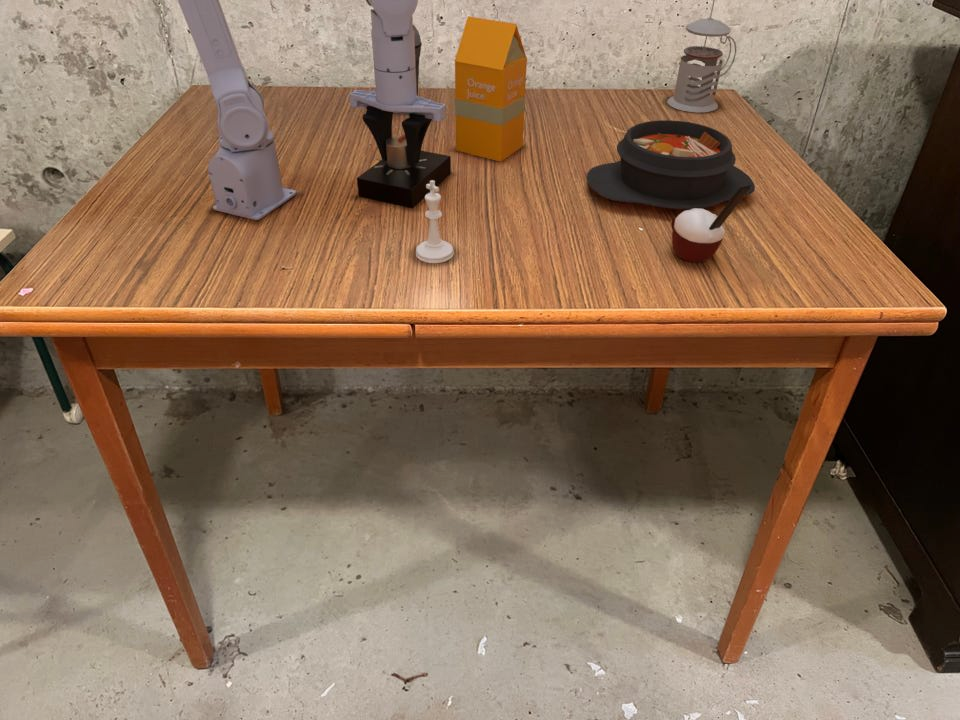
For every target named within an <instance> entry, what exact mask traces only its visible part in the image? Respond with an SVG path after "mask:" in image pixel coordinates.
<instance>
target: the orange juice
mask: <svg viewBox="0 0 960 720" xmlns="http://www.w3.org/2000/svg"><path fill="white" fill-rule="evenodd" d="M517 25H518V24H517V23H514V22H507V21H501V20H494V19H489V18H488V19H487V18H482V17H475V16H468V15H467V17H466V21H465V24H464V28H463V31H462V35H461V38H460V41H459V44H458V48H457V51H456V55H455V58H454V116H455V151H457V152H460V153H465V154H468V155H472V156H476V157H480V158H484V159H488V160H493V161H496V162H500V163H501V162H502V161H504V160H505V159H507V158H509V157H510V156H511V155H513V154H514V153H516V152H518V150H520V149H521V148H523V144H524V143H523V141H524V140H523V139H524V124H525V122H524V121H525V107H526V86H527V85H526V83H527V65H528V64H527V63H528V56H527V54H526V52H525V48H524V45H523V41H522V38H521V35H520V32H519V29H518V26H517Z"/></svg>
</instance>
